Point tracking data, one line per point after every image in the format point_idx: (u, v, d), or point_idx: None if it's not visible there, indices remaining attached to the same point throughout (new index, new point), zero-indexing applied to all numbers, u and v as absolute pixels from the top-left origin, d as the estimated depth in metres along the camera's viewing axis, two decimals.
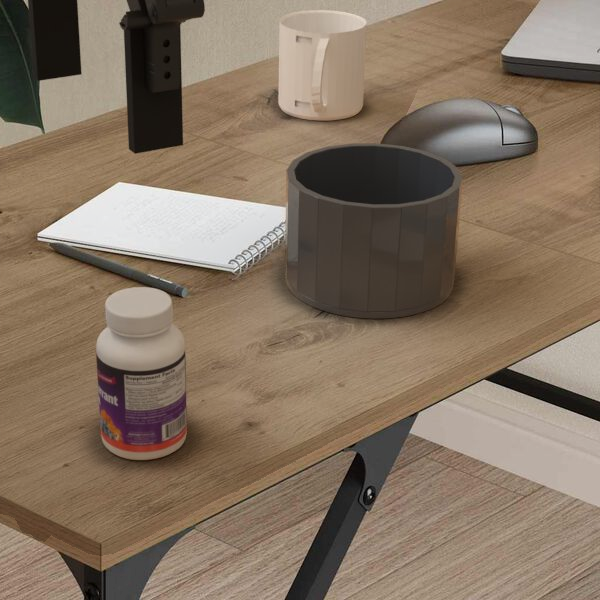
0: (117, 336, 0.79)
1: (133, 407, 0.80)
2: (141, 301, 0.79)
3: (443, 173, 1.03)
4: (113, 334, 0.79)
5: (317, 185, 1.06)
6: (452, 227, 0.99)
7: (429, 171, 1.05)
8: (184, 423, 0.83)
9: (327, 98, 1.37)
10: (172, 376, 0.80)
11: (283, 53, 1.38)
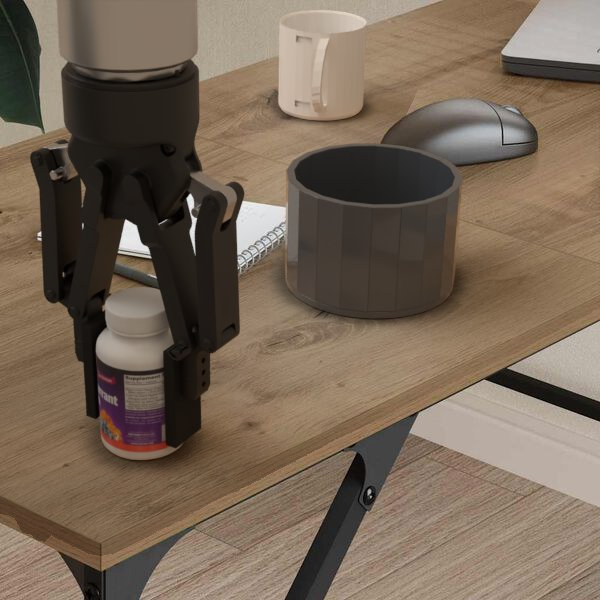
0: (117, 336, 0.79)
1: (133, 407, 0.80)
2: (140, 301, 0.79)
3: (443, 173, 1.03)
4: (113, 334, 0.79)
5: (317, 185, 1.06)
6: (452, 227, 0.99)
7: (429, 171, 1.05)
8: None
9: (327, 98, 1.37)
10: None
11: (283, 53, 1.38)
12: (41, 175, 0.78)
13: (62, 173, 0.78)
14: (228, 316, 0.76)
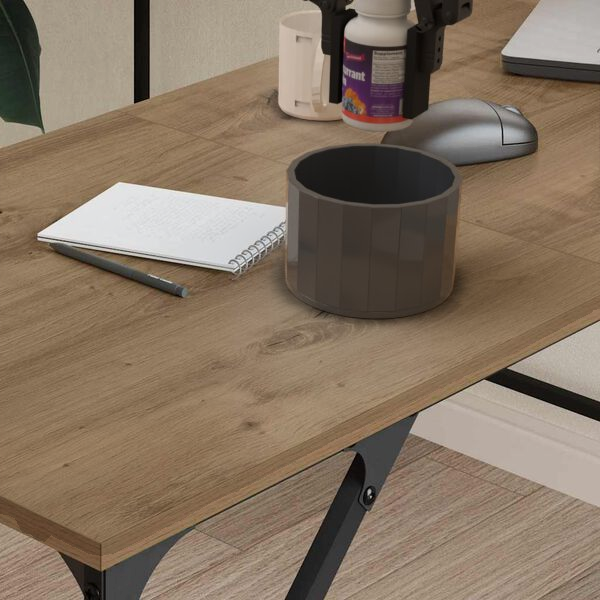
0: (366, 19, 0.94)
1: (378, 81, 0.95)
2: None
3: (443, 173, 1.03)
4: (362, 19, 0.95)
5: (317, 185, 1.06)
6: (452, 227, 0.99)
7: (429, 171, 1.05)
8: None
9: (327, 98, 1.37)
10: None
11: (283, 53, 1.38)
12: None
13: None
14: None
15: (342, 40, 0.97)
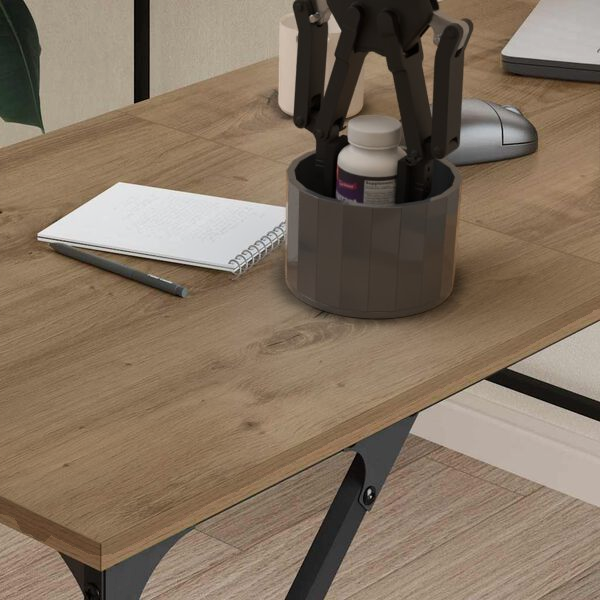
0: (358, 150, 0.99)
1: None
2: (376, 123, 0.99)
3: (443, 173, 1.03)
4: (354, 149, 0.99)
5: (317, 185, 1.06)
6: (452, 227, 0.99)
7: None
8: None
9: None
10: None
11: (283, 53, 1.38)
12: (301, 20, 0.98)
13: (319, 17, 0.97)
14: (454, 129, 0.96)
15: (335, 166, 1.01)
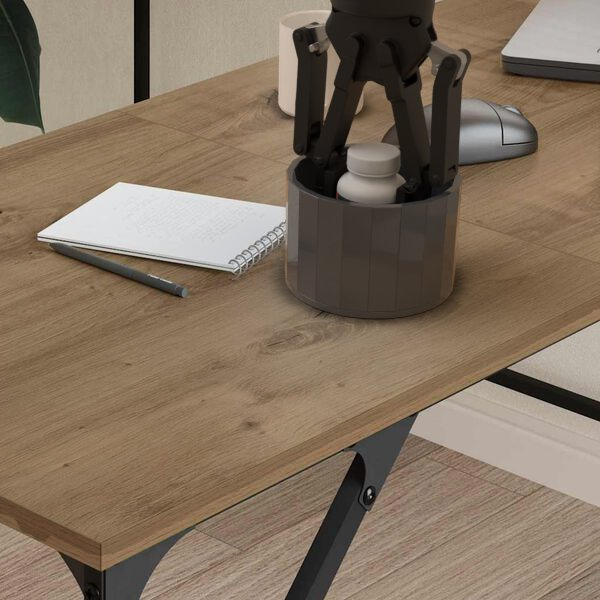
0: (357, 177, 1.00)
1: None
2: (375, 150, 1.00)
3: None
4: (354, 176, 1.00)
5: None
6: (452, 227, 0.99)
7: None
8: None
9: (327, 98, 1.37)
10: None
11: (283, 53, 1.38)
12: (300, 49, 0.99)
13: (318, 47, 0.98)
14: (452, 158, 0.97)
15: (335, 193, 1.02)
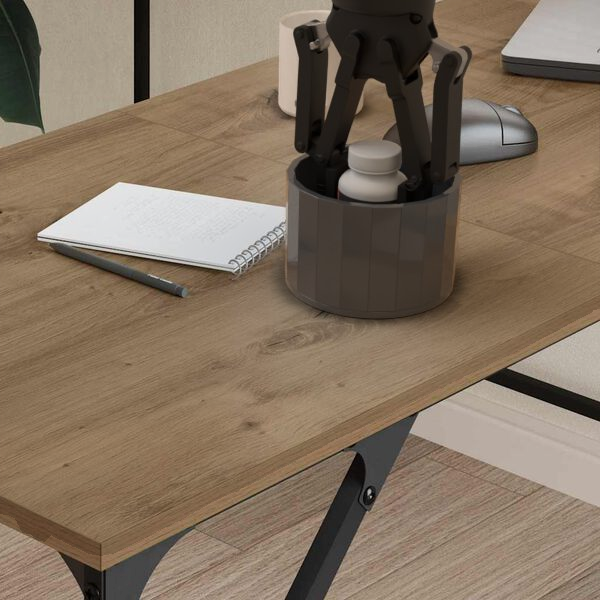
0: (359, 175, 1.00)
1: None
2: (377, 148, 1.00)
3: None
4: (355, 174, 1.00)
5: None
6: (452, 227, 0.99)
7: None
8: None
9: (327, 98, 1.37)
10: None
11: (283, 53, 1.38)
12: (301, 46, 0.98)
13: (319, 44, 0.98)
14: (453, 155, 0.97)
15: (336, 191, 1.02)
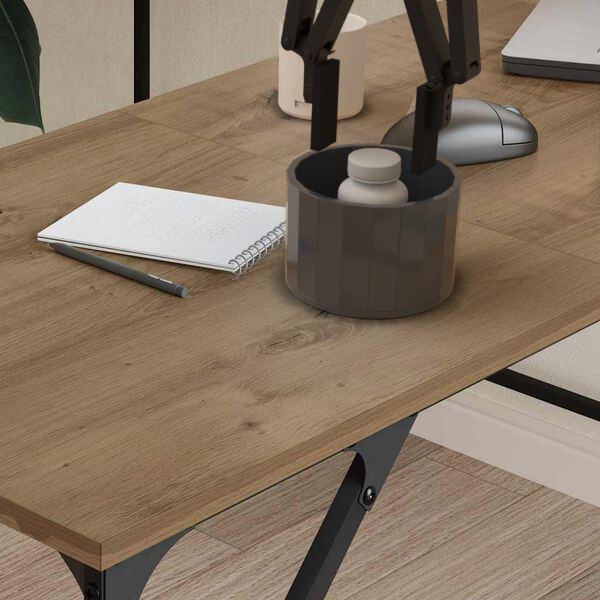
0: (358, 184, 1.00)
1: None
2: (376, 157, 1.00)
3: (443, 173, 1.03)
4: (354, 183, 1.00)
5: (317, 185, 1.06)
6: (452, 227, 0.99)
7: (429, 171, 1.05)
8: None
9: None
10: None
11: (283, 53, 1.38)
12: None
13: None
14: (473, 52, 0.93)
15: (323, 89, 0.99)
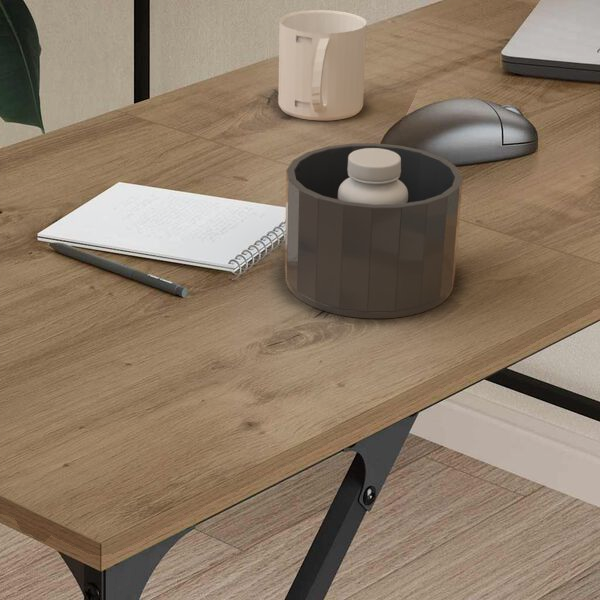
0: (358, 184, 1.00)
1: None
2: (376, 157, 1.00)
3: (443, 173, 1.03)
4: (354, 183, 1.00)
5: (317, 185, 1.06)
6: (452, 227, 0.99)
7: (429, 171, 1.05)
8: None
9: (327, 98, 1.37)
10: None
11: (283, 53, 1.38)
12: None
13: None
14: None
15: None
